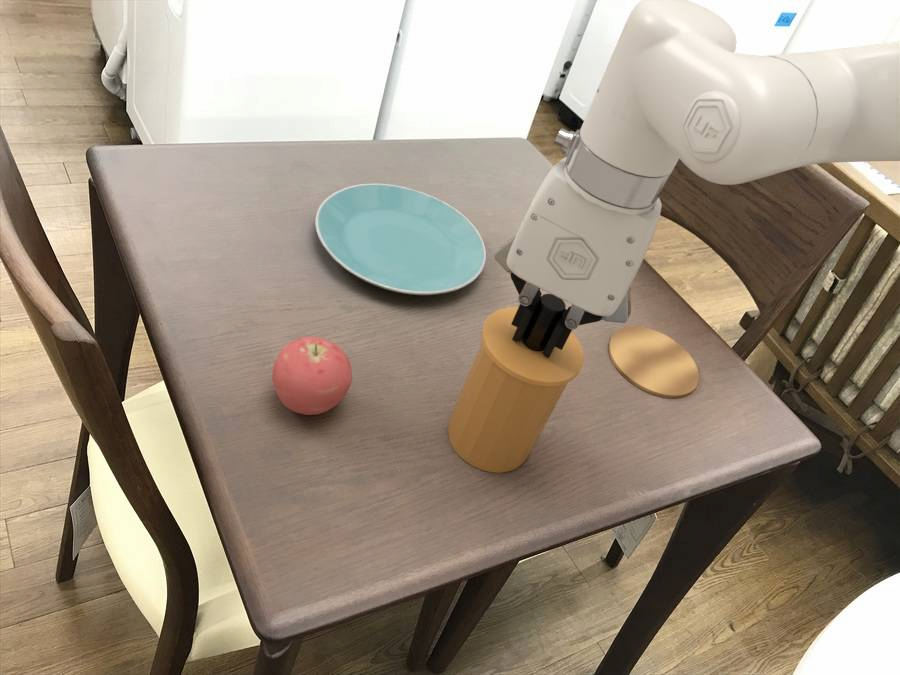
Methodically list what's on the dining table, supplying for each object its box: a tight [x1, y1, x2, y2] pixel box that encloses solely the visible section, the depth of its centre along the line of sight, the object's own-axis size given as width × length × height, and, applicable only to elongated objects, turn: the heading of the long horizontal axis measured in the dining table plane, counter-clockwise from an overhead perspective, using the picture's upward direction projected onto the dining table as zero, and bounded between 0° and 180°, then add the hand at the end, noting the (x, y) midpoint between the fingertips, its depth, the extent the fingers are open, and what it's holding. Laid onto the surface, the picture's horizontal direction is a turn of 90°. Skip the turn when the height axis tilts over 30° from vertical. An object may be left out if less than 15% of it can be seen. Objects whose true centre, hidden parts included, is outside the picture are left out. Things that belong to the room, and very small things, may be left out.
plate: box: [314, 182, 487, 296], centre depth 98 cm, size 22×22×3 cm
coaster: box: [607, 326, 700, 399], centre depth 96 cm, size 12×12×1 cm
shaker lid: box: [480, 293, 585, 386], centre depth 69 cm, size 10×10×6 cm
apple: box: [271, 336, 353, 416], centre depth 74 cm, size 7×7×8 cm
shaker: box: [447, 342, 569, 474], centre depth 75 cm, size 9×9×14 cm
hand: (535, 339), depth 70 cm, fingers closed on shaker lid, 2 cm apart
